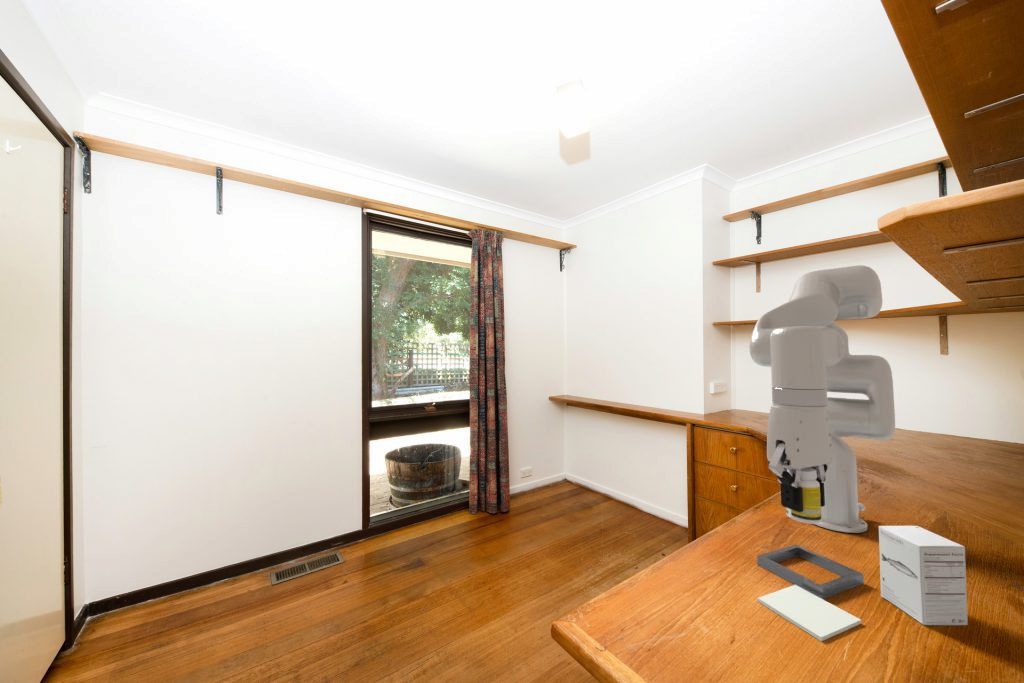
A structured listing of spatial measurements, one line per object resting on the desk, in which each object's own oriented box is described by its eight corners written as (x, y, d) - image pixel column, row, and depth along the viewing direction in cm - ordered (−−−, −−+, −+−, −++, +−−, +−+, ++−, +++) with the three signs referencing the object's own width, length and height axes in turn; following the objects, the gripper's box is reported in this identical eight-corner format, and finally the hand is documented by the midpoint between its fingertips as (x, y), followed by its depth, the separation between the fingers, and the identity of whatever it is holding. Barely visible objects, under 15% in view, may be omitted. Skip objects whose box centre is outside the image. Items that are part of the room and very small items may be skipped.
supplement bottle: (829, 524, 62) (827, 472, 62) (800, 524, 62) (798, 472, 62) (806, 512, 67) (804, 463, 67) (779, 512, 67) (777, 464, 67)
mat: (795, 587, 70) (795, 584, 70) (861, 623, 61) (861, 619, 61) (757, 601, 67) (757, 597, 67) (821, 641, 57) (821, 637, 57)
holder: (796, 552, 82) (795, 544, 82) (863, 583, 71) (863, 574, 71) (757, 564, 78) (757, 555, 78) (823, 599, 67) (822, 589, 67)
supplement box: (878, 596, 67) (875, 524, 68) (921, 596, 67) (918, 524, 68) (922, 626, 60) (918, 545, 60) (971, 626, 60) (967, 545, 60)
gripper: (807, 393, 71) (811, 491, 71) (743, 399, 65) (746, 506, 65) (855, 398, 64) (860, 506, 64) (788, 404, 58) (792, 524, 58)
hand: (802, 505), depth 64 cm, fingers closed on supplement bottle, 4 cm apart
